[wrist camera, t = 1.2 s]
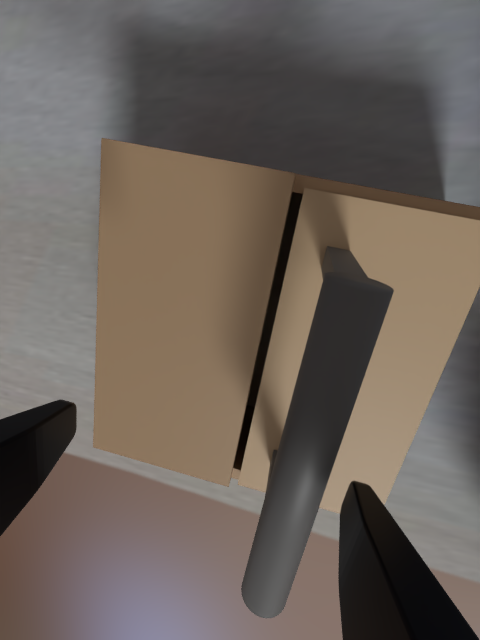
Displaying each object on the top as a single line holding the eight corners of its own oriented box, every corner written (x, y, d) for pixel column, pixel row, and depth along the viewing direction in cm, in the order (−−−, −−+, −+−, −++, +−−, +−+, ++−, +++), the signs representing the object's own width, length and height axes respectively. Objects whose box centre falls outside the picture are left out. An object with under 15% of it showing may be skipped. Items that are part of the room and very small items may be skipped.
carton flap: (497, 224, 12) (702, 259, 6) (373, 512, 17) (411, 703, 10) (304, 187, 12) (298, 184, 6) (240, 475, 17) (200, 632, 11)
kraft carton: (445, 205, 17) (517, 213, 11) (359, 437, 22) (377, 530, 16) (170, 155, 19) (101, 137, 13) (149, 382, 24) (93, 447, 18)
